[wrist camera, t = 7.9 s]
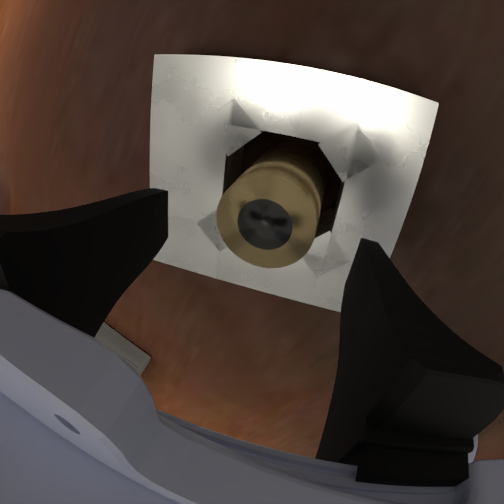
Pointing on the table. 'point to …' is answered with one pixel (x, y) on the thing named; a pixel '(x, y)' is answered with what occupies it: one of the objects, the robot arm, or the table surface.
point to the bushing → (274, 207)
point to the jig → (292, 124)
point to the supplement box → (123, 347)
